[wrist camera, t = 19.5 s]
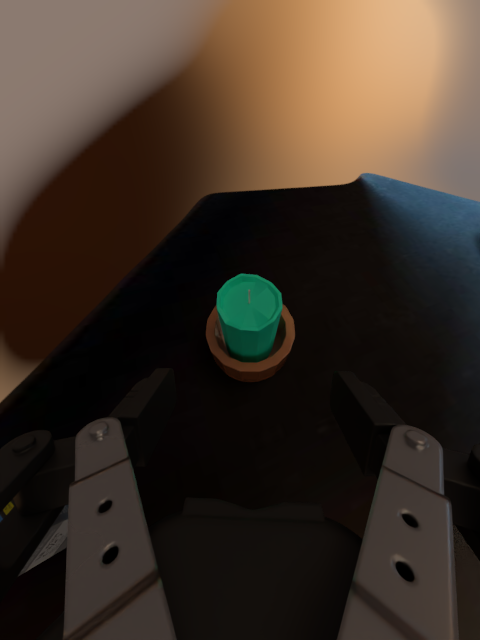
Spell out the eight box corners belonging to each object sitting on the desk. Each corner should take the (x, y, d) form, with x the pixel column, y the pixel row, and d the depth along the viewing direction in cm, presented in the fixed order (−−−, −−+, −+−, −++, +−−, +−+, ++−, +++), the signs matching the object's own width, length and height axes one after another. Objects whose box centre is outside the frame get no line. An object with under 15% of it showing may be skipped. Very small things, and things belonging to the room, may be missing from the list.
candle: (222, 329, 30) (207, 271, 20) (264, 318, 31) (272, 256, 20) (232, 371, 28) (221, 330, 17) (278, 359, 28) (296, 311, 18)
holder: (250, 299, 33) (250, 278, 29) (303, 344, 30) (313, 328, 25) (197, 343, 30) (188, 327, 26) (249, 399, 27) (250, 392, 22)
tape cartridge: (23, 480, 24) (-169, 515, 13) (54, 444, 25) (-94, 449, 14) (76, 543, 21) (-107, 654, 10) (107, 500, 23) (-23, 557, 12)
